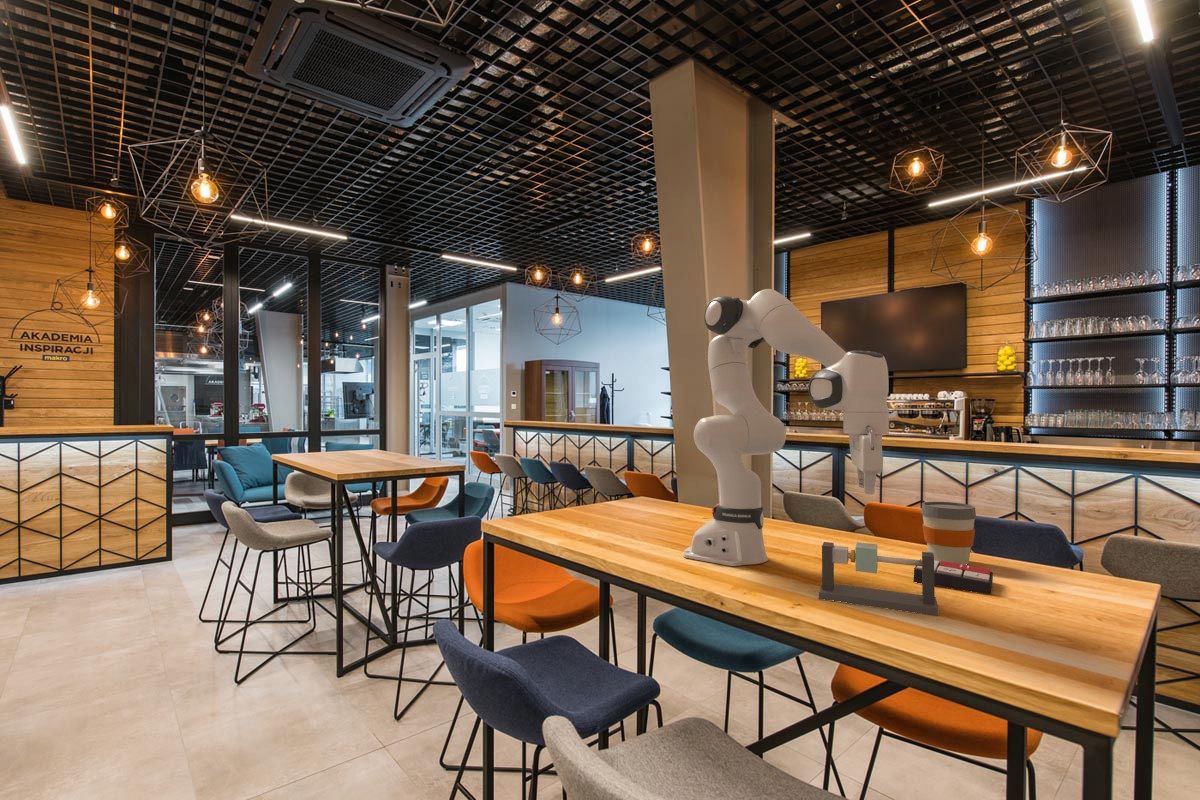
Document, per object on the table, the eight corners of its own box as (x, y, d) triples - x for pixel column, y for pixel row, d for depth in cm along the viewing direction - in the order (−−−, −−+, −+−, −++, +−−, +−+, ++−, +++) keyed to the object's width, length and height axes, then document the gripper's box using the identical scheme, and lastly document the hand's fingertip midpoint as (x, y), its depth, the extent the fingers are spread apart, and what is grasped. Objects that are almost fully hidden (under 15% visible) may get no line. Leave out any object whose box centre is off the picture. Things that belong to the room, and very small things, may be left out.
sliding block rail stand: (818, 599, 122) (818, 547, 122) (823, 588, 129) (822, 539, 129) (938, 616, 112) (937, 559, 112) (935, 603, 119) (935, 550, 119)
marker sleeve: (855, 571, 120) (855, 547, 120) (857, 565, 124) (856, 542, 125) (876, 573, 118) (876, 549, 118) (877, 567, 123) (877, 544, 123)
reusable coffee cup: (975, 559, 154) (974, 503, 154) (978, 570, 143) (977, 510, 144) (922, 553, 161) (921, 500, 161) (921, 563, 150) (920, 506, 150)
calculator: (991, 579, 125) (913, 565, 134) (990, 599, 125) (913, 583, 134) (993, 568, 134) (920, 555, 142) (992, 586, 134) (919, 572, 142)
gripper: (890, 427, 111) (891, 498, 111) (874, 424, 131) (875, 484, 131) (855, 427, 113) (855, 497, 113) (845, 424, 133) (845, 483, 133)
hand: (866, 490), depth 122 cm, fingers open, 8 cm apart
